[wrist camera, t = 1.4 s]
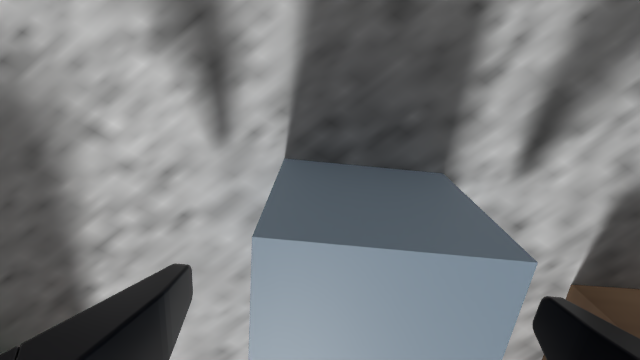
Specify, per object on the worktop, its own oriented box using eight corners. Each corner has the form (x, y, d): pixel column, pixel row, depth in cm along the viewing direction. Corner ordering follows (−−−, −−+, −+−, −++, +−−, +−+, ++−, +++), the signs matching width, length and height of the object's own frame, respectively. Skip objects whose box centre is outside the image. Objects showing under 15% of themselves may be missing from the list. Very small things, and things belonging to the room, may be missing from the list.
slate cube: (442, 172, 11) (537, 262, 6) (412, 301, 12) (467, 452, 7) (284, 157, 10) (251, 236, 6) (276, 289, 12) (246, 434, 7)
